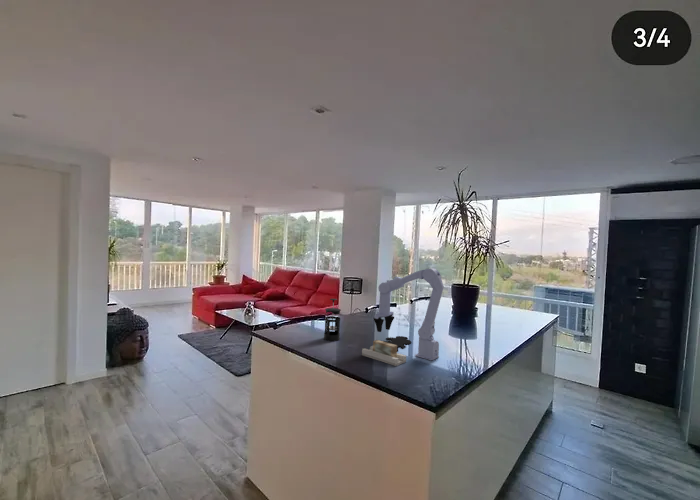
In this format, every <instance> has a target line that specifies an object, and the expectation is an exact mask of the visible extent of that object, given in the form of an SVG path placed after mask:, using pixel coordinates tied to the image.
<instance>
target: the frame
mask: <svg viewBox="0 0 700 500" xmlns="http://www.w3.org/2000/svg"><path fill="white" fill-rule="evenodd" d="M383 341H384V340H379V339H376V340H373V341H372V346H373V351H376V352H379V353H382V354H385V355H389V356H392V357H395V358H397V353H398V352H397V345H394V344H390V343H387V342H383Z"/></svg>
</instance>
